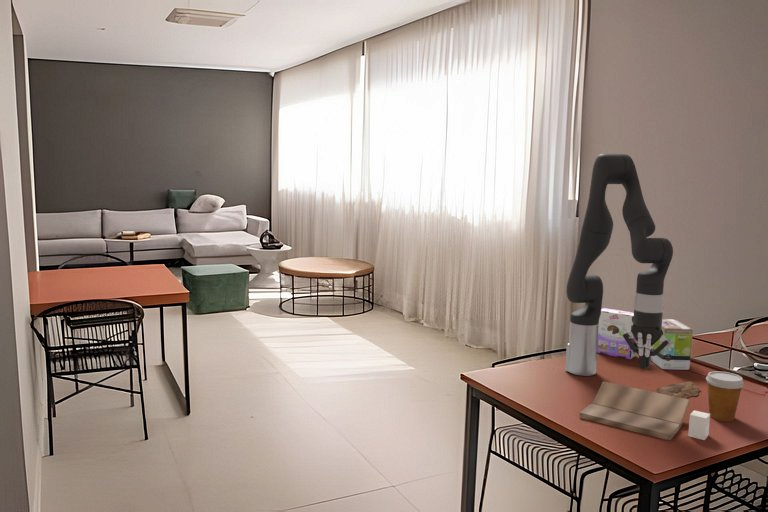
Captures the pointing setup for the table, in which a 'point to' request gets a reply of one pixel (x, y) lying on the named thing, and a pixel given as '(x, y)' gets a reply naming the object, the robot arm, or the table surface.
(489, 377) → the table surface
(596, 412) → the floor board
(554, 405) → the table surface
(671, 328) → the tea box
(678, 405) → the board
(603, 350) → the candy box
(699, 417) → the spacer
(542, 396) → the table surface
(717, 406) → the disposable coffee cup
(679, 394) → the flat brown piece
